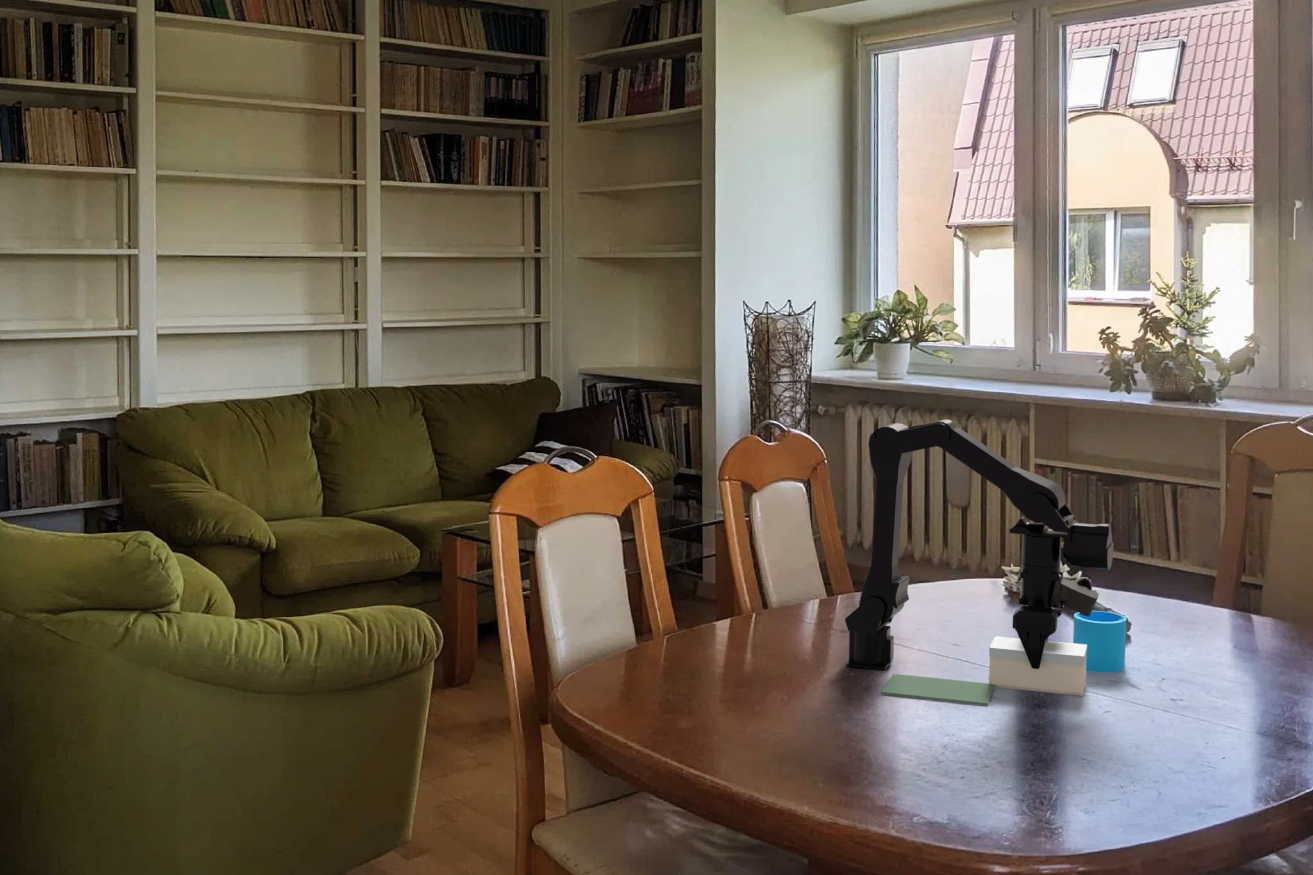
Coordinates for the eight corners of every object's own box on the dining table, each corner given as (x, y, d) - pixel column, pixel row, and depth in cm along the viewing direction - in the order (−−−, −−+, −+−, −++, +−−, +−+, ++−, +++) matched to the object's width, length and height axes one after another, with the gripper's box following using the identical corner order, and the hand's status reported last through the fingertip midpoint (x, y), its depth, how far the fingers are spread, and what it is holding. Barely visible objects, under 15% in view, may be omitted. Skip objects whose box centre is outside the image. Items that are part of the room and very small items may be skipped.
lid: (989, 661, 207) (989, 647, 207) (994, 649, 214) (995, 636, 214) (1083, 670, 202) (1084, 656, 202) (1086, 658, 209) (1087, 644, 209)
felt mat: (880, 694, 205) (880, 691, 205) (893, 676, 214) (893, 673, 214) (987, 705, 199) (987, 703, 199) (995, 686, 208) (995, 684, 208)
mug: (1111, 675, 214) (1113, 626, 213) (1063, 666, 220) (1065, 617, 219) (1142, 660, 223) (1144, 612, 222) (1095, 651, 228) (1097, 604, 227)
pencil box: (988, 686, 209) (989, 655, 208) (993, 676, 214) (994, 645, 213) (1083, 696, 204) (1084, 664, 203) (1085, 685, 209) (1086, 654, 208)
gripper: (1092, 580, 195) (1088, 684, 197) (1099, 555, 212) (1095, 651, 214) (1013, 574, 199) (1010, 676, 201) (1026, 550, 216) (1023, 644, 218)
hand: (1037, 662), depth 208 cm, fingers closed on lid, 7 cm apart
